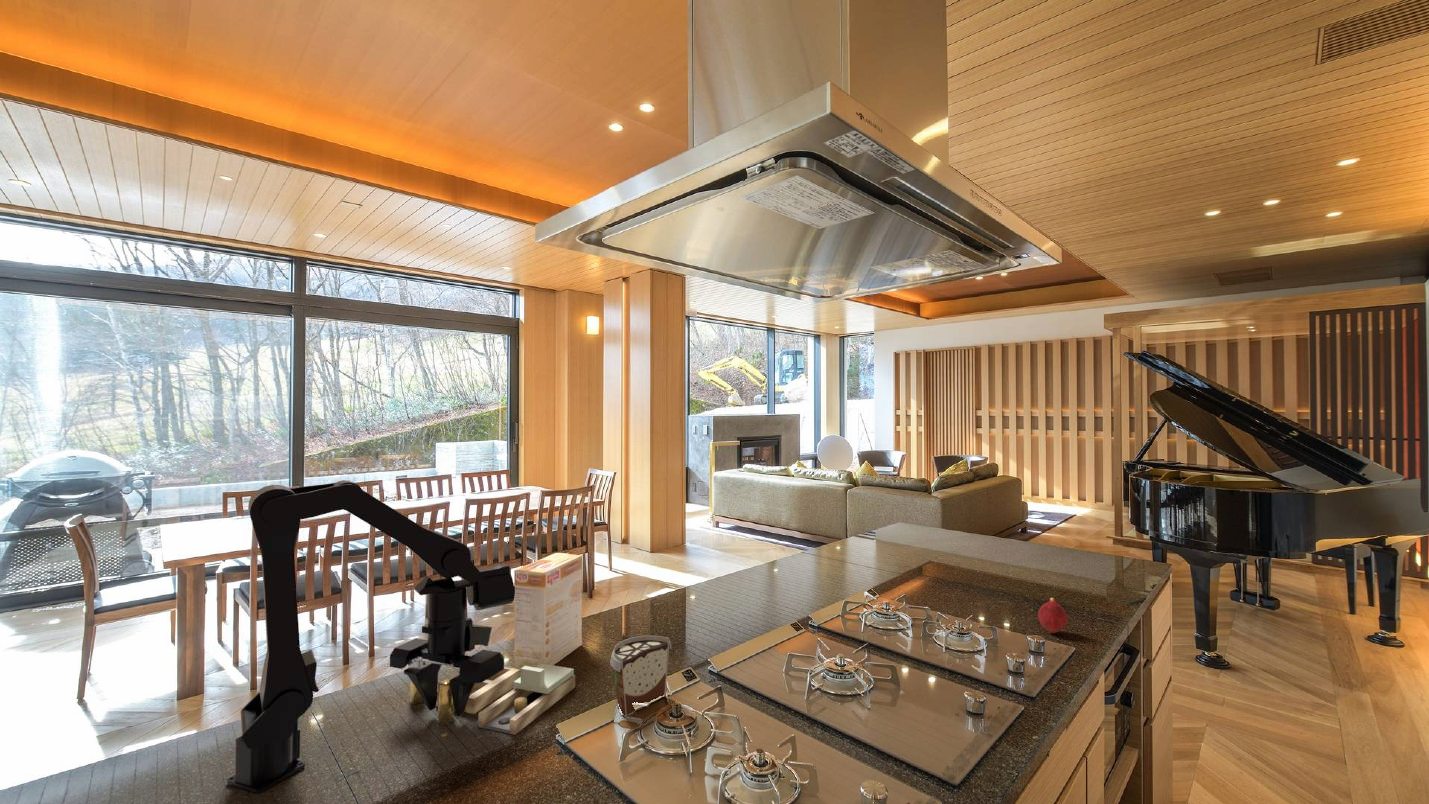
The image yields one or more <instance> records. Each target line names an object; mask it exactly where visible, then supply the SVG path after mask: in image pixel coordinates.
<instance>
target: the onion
mask: <svg viewBox="0 0 1429 804" xmlns="http://www.w3.org/2000/svg"><path fill="white" fill-rule="evenodd" d="M1037 617H1038V620H1039V622H1040V624H1041V626H1042V627H1043V628H1044V629H1045V630H1047V631H1048V632H1049V633H1051V634H1056V633H1058V632H1060V631H1062V630H1063V629H1064V628H1065V627H1066V626H1067V624H1068V616H1067V612H1066V610H1065V609H1064V607H1062V606H1061V605H1060V604H1059V603H1058V602H1056V599H1055V598H1054V597H1051V598H1049V601H1048V602H1046V603H1043V605H1041V606H1040V608H1039V609H1038V612H1037Z"/></svg>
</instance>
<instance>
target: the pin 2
mask: <svg viewBox="0 0 1429 804" xmlns="http://www.w3.org/2000/svg"><path fill="white" fill-rule="evenodd" d="M449 680H450V679H444V680H442V681H440V682H439V681H438V687H437V691H438V706H437V722H438V724H441V725H442V724H443V725H444V724H445V725H446V724H450V723H451V722H453V721H454V720H455V710H454V704H453V698H452V693H451V687H450V682H449Z"/></svg>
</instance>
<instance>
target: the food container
mask: <svg viewBox="0 0 1429 804" xmlns="http://www.w3.org/2000/svg"><path fill="white" fill-rule="evenodd" d="M670 650H672V643H671V640H670V638H669V637H667V636H666V637H665V636H660V635H640V636H632V637H629V638H626V639H624V640H621V641H619V642H618V643H616V644H615V646H614V648H613V650H612V651H611V652H612V653H611V657H610V660H609V661H610V663H609V664H610V666H611V667H612V669H614V677H615V679H614V680H615V688H616V689H615V690H616V702H617V705H618V704H619V707H620V709H621V711H622V713H623V714H624V715H626V716H627V715H630V716H632V715H633V713H634V712H635V709H634V707H633V705H632V703H634V702H635V703H636V702H638V703H644V702H650V701H651V700H653V699H656V698H658V697H659V696H663V695H664V694H665V693H666V691H667V680H668V679H667V678H668V667H669V666H668V664H669V651H670ZM666 694H667V693H666ZM635 713H636V712H635ZM635 713H634V714H635ZM631 714H632V715H631Z"/></svg>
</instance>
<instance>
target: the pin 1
mask: <svg viewBox="0 0 1429 804" xmlns="http://www.w3.org/2000/svg"><path fill="white" fill-rule="evenodd" d="M409 687H410V688H409V691H410V694H409V702H410V704H413V705H417V704H422V703H425V702H424V700H423V699H422V697H421V695H420V693H419V692H418V690H417V688H416V687H415V686H414V684H413V683H412V681H411V680H410V685H409Z"/></svg>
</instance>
